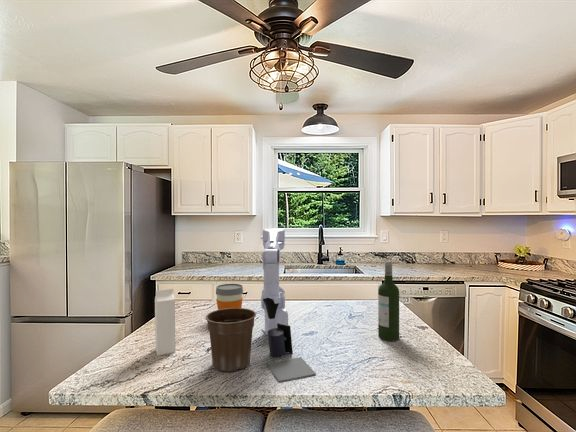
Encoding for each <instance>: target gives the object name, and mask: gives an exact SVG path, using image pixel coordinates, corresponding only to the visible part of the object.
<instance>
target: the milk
mask: <svg viewBox="0 0 576 432" xmlns="http://www.w3.org/2000/svg"><path fill="white" fill-rule="evenodd" d="M154 332H155V333H154V337H155V338H154V339H155V340H154V342H155V344H154V346H155V348H154V349H155V352H156V354H157V356H158V357H159V356H163V355H168V354H173V353H176V298H175V294H174V289H173V288H168V289H158V290H155V296H154Z"/></svg>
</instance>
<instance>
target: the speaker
mask: <svg viewBox="0 0 576 432" xmlns="http://www.w3.org/2000/svg"><path fill="white" fill-rule="evenodd" d="M291 328H292V327H291V325H289V324H288V325H284V324H280V323H277V328H273V329H271V330H269V331H268V335H267V338H268V339H267V340H268V350H269V356H270V357H271V358H274V359H279V358H283V357H284V356H285V355H287V353H288V354H290V355H293V354H294V353H293V342H292V330H291Z"/></svg>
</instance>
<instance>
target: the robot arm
mask: <svg viewBox="0 0 576 432" xmlns="http://www.w3.org/2000/svg"><path fill="white" fill-rule="evenodd" d="M285 231H286V229H285V228H284V227H283V228H263V229H262V245H263V248H264V250H263V251H262V252H261V256H262V257H261V262H262V270H263V289H262V291H261V298H260V306H261V307H260V308H261V309H262V310H263V312H264V327H262V328H261V330H262V331H263V333H265V335H266V336H268V331H269V330H271V329H273V328H277V323H280V324H284V325H289V312H288V309H287V308H286V295H285V293H286V292H285V289H284V288H282V287H281V286H280V263H281V250H283V249H285V246H286V245H285V241H286V234H285Z"/></svg>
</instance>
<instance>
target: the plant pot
mask: <svg viewBox="0 0 576 432" xmlns="http://www.w3.org/2000/svg"><path fill="white" fill-rule="evenodd" d="M256 316H257V313H256V311H255V310H253V309H249V308H244V307H241V308H226V309H220V310H218V309H217V310H213V311H211V312H209V313H207V314H205V320H206V322H207V328H208V331H209V339H210V340H209V341H210V352H211V361H212V364H211V365H212V367H213V368H214V369H215V370H216V371H220V372H226V373H227V372H228V373H229V372H237V371H238V370H239V369H240V370H243V369H245V368H247V367H248V366H249V365H250V363H251V355H252V354H251V353H252V342H253V340H252V339H253V331H254V330H253V329H254V326H255V318H256Z"/></svg>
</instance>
